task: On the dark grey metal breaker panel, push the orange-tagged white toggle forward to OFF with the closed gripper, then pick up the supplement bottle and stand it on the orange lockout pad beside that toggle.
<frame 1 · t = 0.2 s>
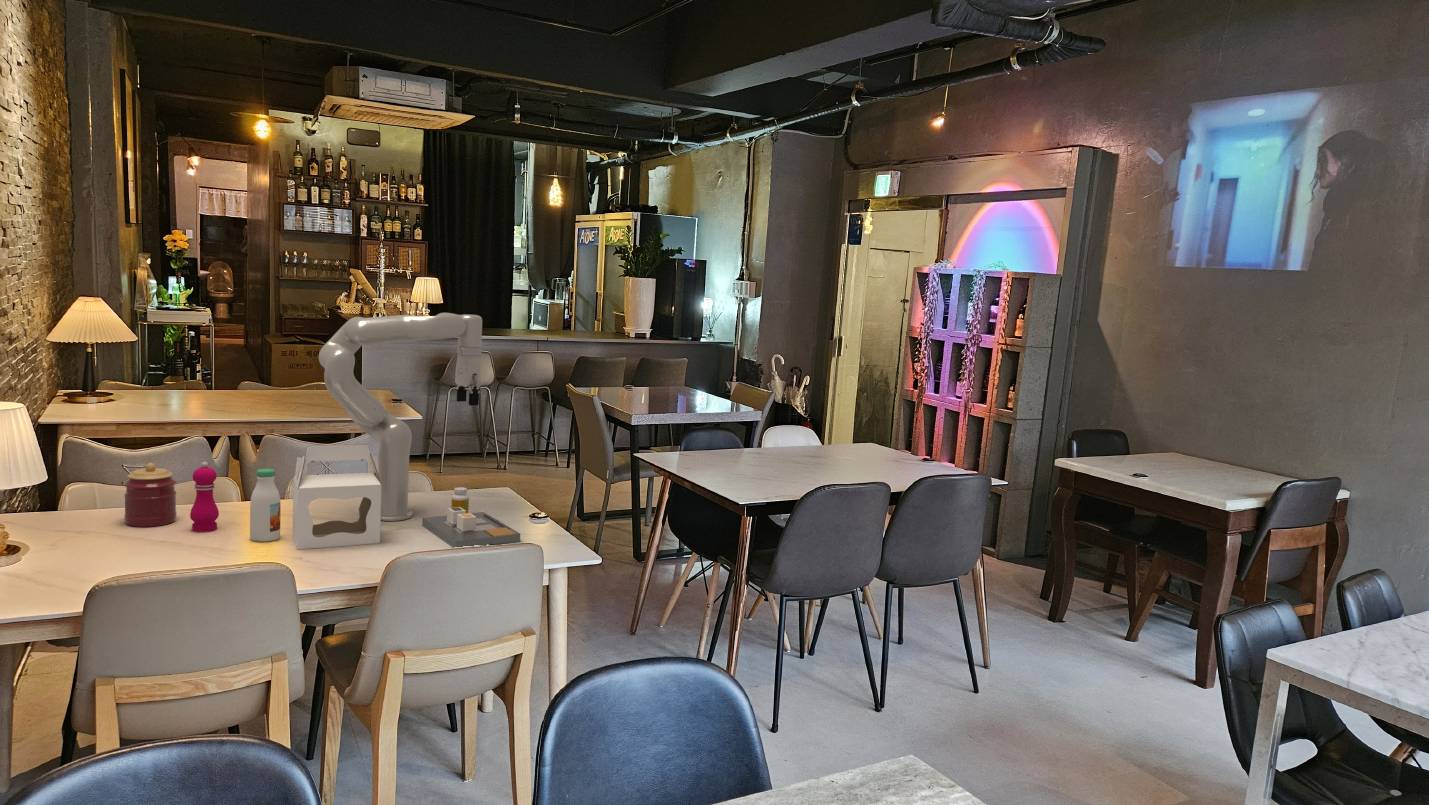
hand: (467, 403, 293), 36 cm above the table, tool pointing down, fingers open, 9 cm apart
breaker B: (466, 529, 265), point 2 cm above the table, slide at 0.0 cm
gable box: (336, 541, 255), on the table
supplement bottle: (459, 518, 288), on the table
milk bottle: (265, 539, 251), on the table
pepper mill: (204, 530, 256), on the table
breaker A: (456, 523, 272), point 2 cm above the table, slide at 0.0 cm
canister: (150, 522, 260), on the table
panel: (470, 533, 271), on the table
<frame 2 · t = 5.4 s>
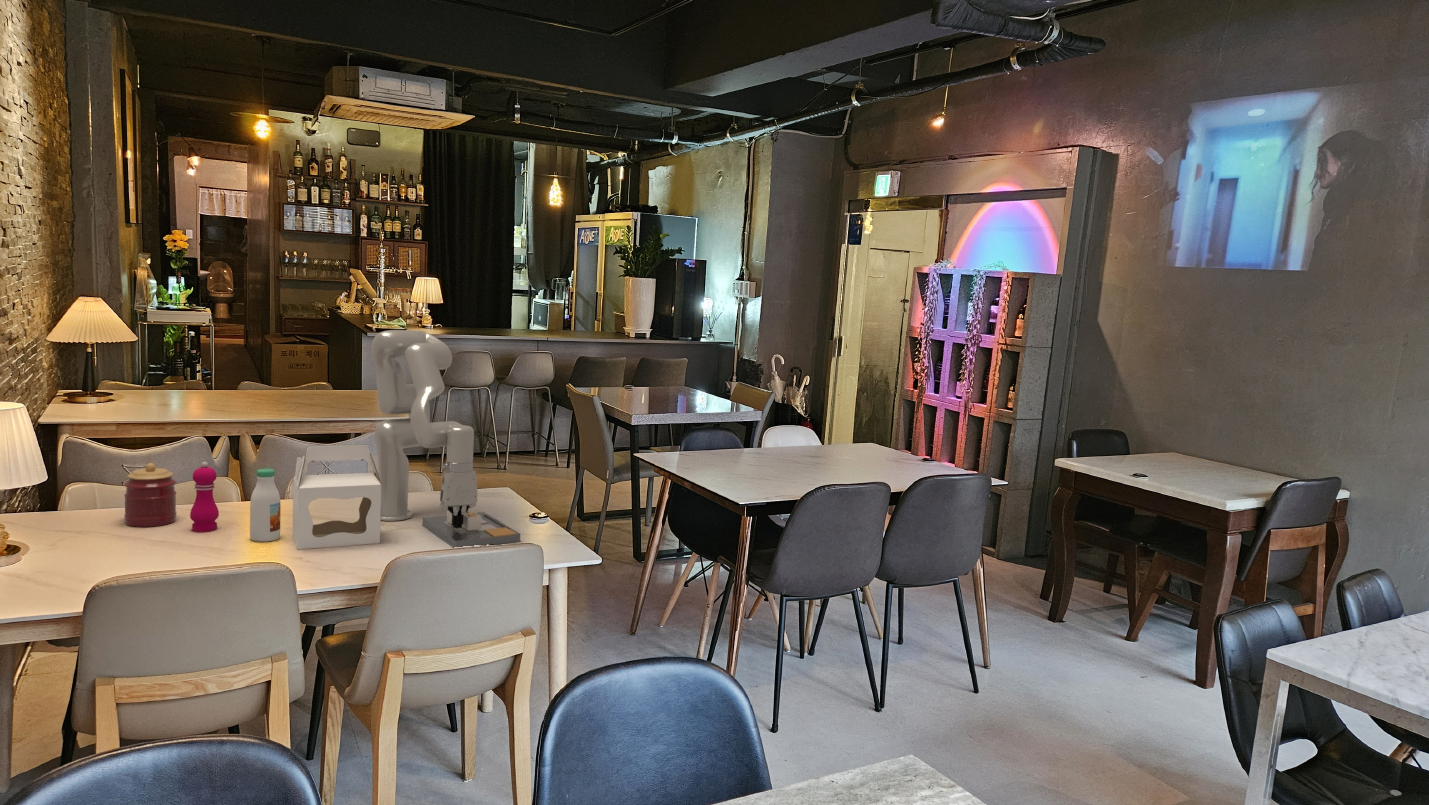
hand: (457, 527, 264), 4 cm above the table, tool pointing down, fingers closed
breaker B: (471, 529, 266), point 2 cm above the table, slide at 1.6 cm, touching gripper
everything else where it was.
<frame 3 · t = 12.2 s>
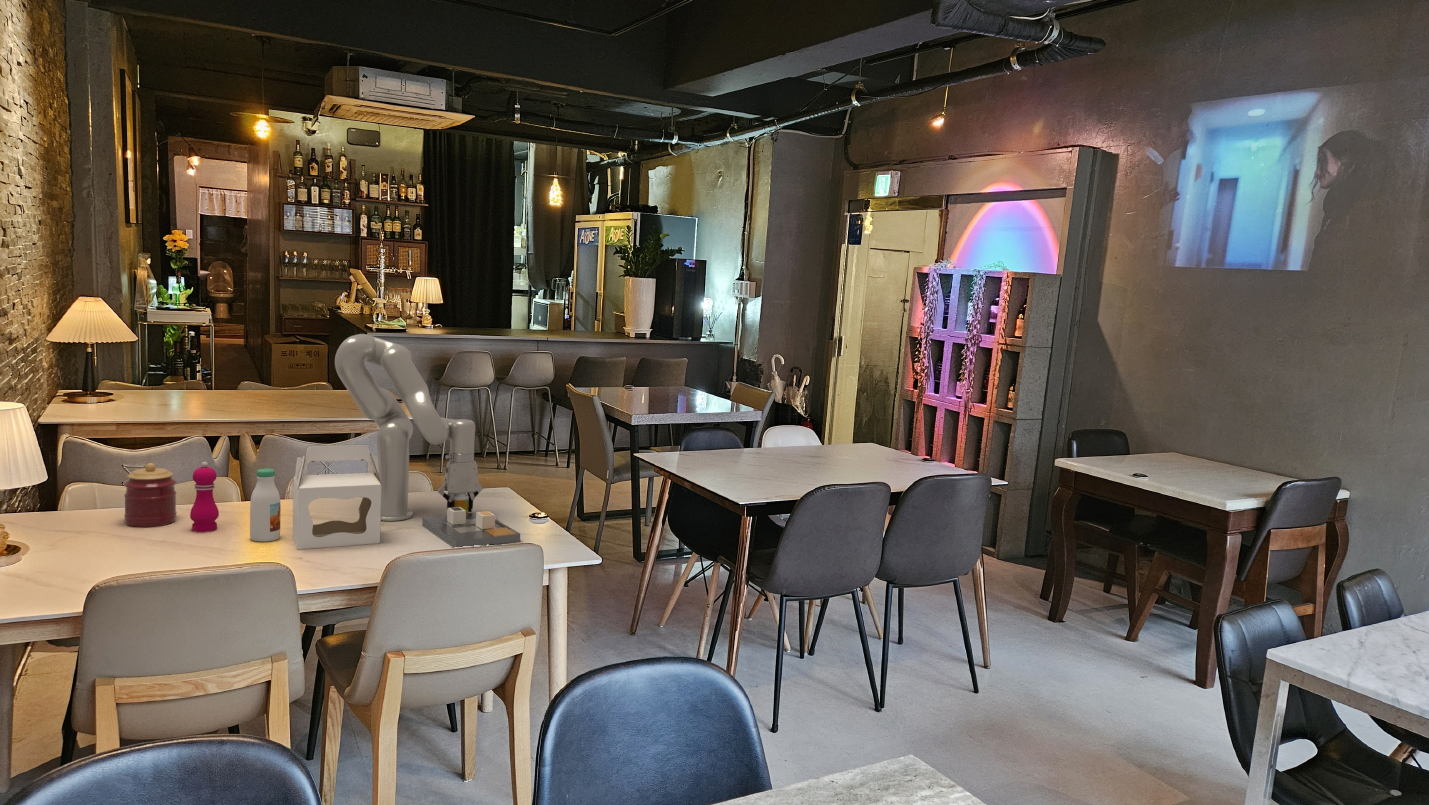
hand: (459, 511, 288), 2 cm above the table, tool pointing down, fingers closed on supplement bottle, 5 cm apart
breaker B: (485, 527, 269), point 2 cm above the table, slide at 6.0 cm
supplement bottle: (459, 518, 288), on the table, touching gripper
everything else where it was.
when the fingers open (6 cm above the table, at t = 17.2 s): supplement bottle drops 1 cm, resting on panel.
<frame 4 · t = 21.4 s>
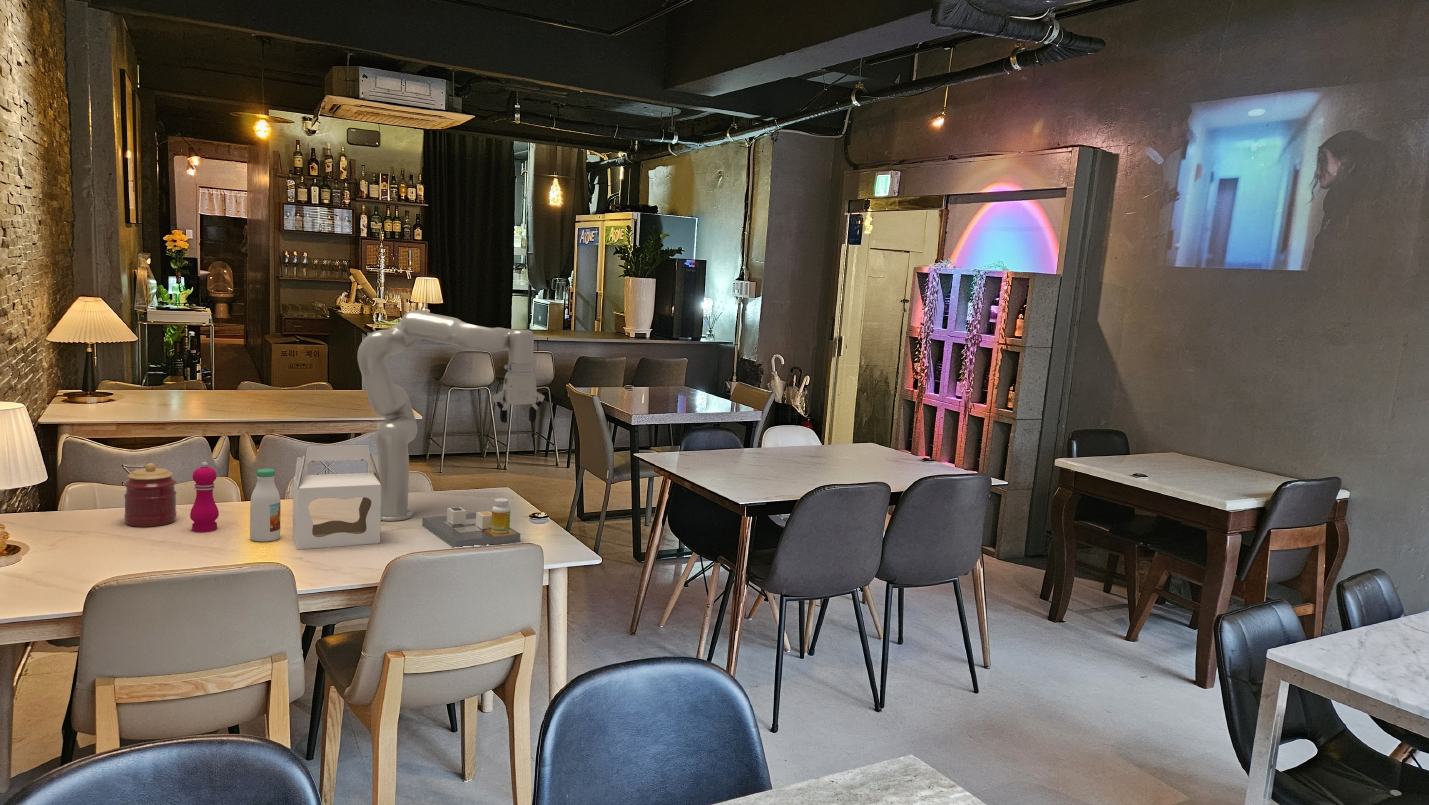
hand: (517, 421, 282), 33 cm above the table, tool pointing down, fingers open, 9 cm apart
supplement bottle: (500, 531, 266), point 3 cm above the table, touching panel
everything else where it was.
at the end: breaker B slide at 6.0 cm; supplement bottle inside the target area (0.3 cm from its centre), point 2.6 cm above the table; supplement bottle tilted 0° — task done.
